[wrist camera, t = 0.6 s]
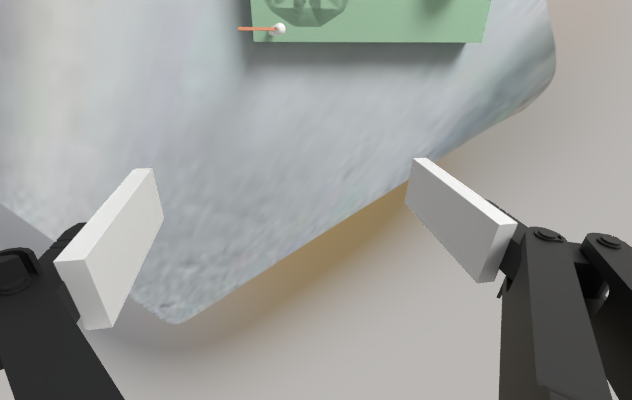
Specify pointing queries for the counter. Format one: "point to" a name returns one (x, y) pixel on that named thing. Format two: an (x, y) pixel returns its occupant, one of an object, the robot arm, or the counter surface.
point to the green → (368, 20)
